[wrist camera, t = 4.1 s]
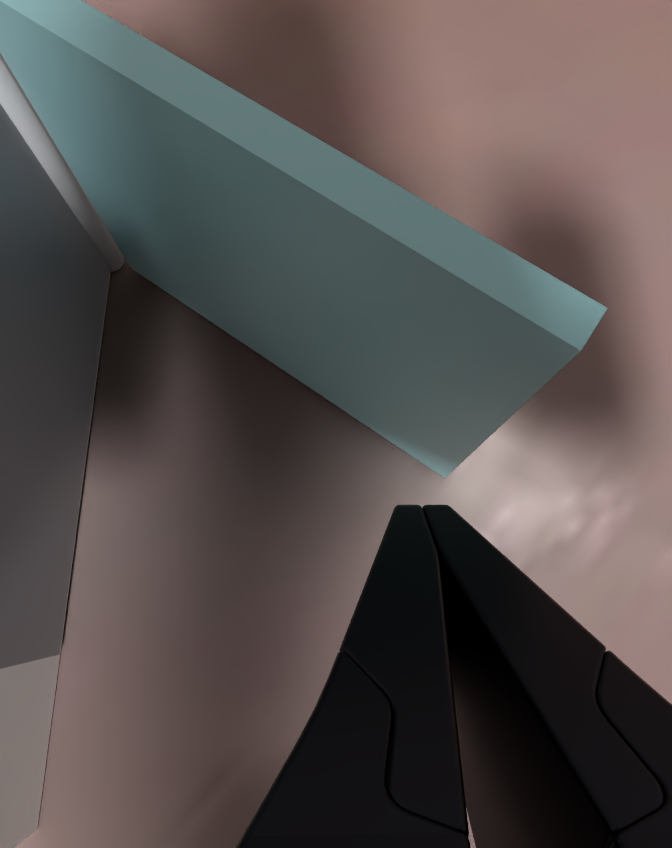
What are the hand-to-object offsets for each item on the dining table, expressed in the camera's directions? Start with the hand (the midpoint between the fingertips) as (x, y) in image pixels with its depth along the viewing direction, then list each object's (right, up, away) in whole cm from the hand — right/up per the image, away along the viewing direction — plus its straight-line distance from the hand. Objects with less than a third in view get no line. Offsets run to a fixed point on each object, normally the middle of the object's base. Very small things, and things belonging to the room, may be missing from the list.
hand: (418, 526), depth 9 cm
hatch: (-3, +4, +8) cm, 10 cm away
